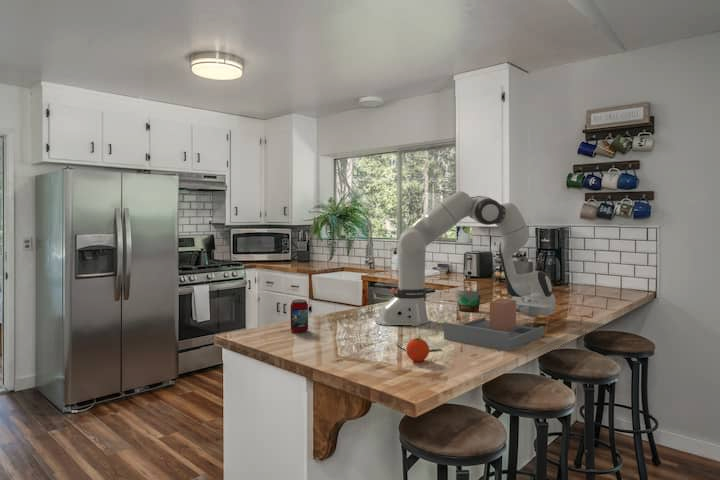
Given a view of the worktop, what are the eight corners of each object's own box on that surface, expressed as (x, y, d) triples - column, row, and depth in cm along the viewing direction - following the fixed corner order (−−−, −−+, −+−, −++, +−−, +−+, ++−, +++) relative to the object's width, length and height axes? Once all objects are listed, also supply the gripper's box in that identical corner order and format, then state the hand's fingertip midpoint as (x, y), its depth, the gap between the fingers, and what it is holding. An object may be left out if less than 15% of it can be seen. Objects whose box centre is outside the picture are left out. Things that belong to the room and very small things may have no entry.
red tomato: (409, 356, 154) (409, 333, 154) (431, 358, 152) (431, 335, 152) (404, 363, 147) (404, 340, 146) (427, 365, 145) (427, 341, 144)
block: (502, 324, 189) (502, 298, 188) (515, 326, 185) (516, 300, 184) (489, 328, 181) (489, 301, 181) (503, 330, 178) (503, 303, 177)
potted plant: (453, 311, 227) (453, 290, 227) (455, 309, 233) (455, 288, 233) (480, 313, 223) (480, 291, 222) (482, 311, 228) (482, 290, 228)
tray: (483, 325, 197) (483, 311, 197) (543, 335, 181) (544, 319, 180) (443, 338, 176) (443, 322, 176) (507, 351, 159) (507, 333, 159)
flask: (534, 291, 291) (535, 257, 290) (529, 292, 288) (530, 258, 287) (512, 288, 303) (513, 256, 302) (507, 289, 299) (507, 256, 298)
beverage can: (294, 334, 184) (293, 302, 184) (288, 330, 190) (288, 299, 190) (310, 332, 187) (310, 301, 187) (304, 328, 193) (304, 298, 193)
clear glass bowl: (408, 355, 158) (408, 340, 157) (395, 345, 169) (395, 332, 169) (442, 352, 161) (442, 337, 161) (426, 343, 172) (426, 329, 172)
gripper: (558, 316, 195) (544, 321, 184) (509, 310, 208) (494, 314, 198) (558, 300, 194) (544, 305, 184) (509, 295, 208) (494, 299, 198)
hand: (518, 310), depth 191 cm, fingers closed
